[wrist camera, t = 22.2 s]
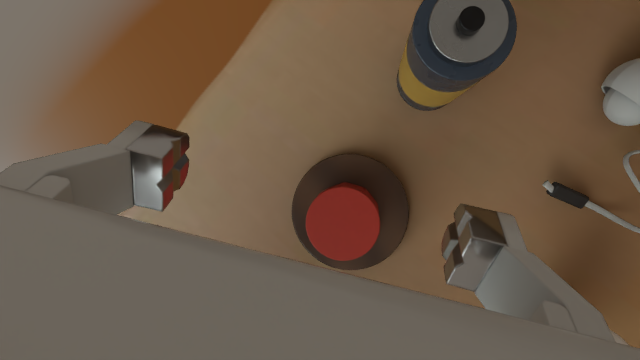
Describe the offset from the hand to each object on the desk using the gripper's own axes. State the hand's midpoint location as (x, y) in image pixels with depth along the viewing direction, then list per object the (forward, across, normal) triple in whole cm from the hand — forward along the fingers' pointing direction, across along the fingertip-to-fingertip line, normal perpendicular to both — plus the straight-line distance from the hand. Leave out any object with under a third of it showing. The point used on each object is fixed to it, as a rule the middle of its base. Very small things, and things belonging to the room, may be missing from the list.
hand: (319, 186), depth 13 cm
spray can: (+25, -6, +4) cm, 26 cm away
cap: (+18, -3, +15) cm, 24 cm away
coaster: (+19, -3, +15) cm, 25 cm away
